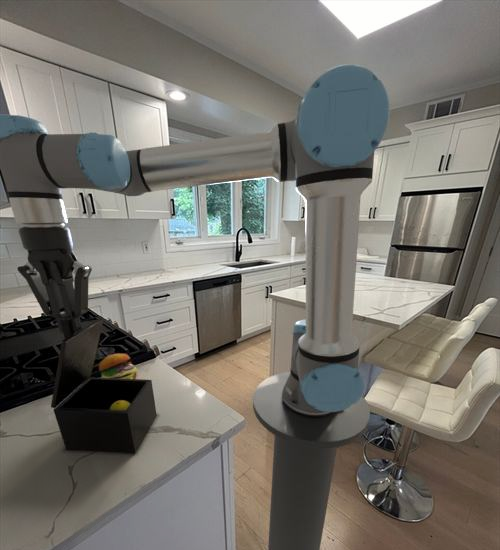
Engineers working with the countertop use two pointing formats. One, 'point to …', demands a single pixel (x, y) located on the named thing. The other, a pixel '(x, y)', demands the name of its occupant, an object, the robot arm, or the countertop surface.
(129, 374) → the cheeseburger
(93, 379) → the black open box
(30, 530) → the countertop surface
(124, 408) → the lemon
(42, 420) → the countertop surface
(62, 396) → the box lid
